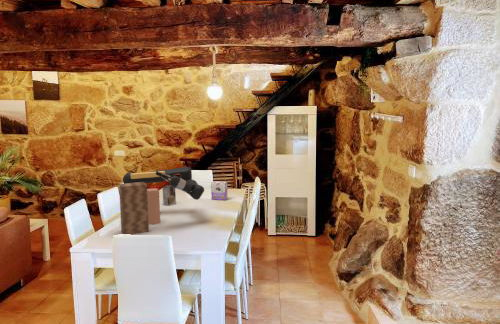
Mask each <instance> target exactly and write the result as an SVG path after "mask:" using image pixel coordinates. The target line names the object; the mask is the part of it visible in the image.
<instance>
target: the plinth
mask: <svg viewBox="0 0 500 324" xmlns="http://www.w3.org/2000/svg"><path fill="white" fill-rule="evenodd" d="M118 188H119V192H118V193H119V207H120V209H119V210H120V227H121V233H122V234H130V235H135V234H136V233H137V234H142V233H149V232H150V231H149V230H150V225H149V223H148V199H147V189H148V183H144V182H137V183H126V184H124V183H119V184H118Z"/></svg>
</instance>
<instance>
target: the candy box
mask: <svg viewBox="0 0 500 324" xmlns="http://www.w3.org/2000/svg"><path fill="white" fill-rule="evenodd" d="M210 184H211V186H210V187H211V188H210V189H211V190H210V191H211V192H210V193H211V200H212V201H227V200H228V197H229V196H228V193H229V192H228V181H223V180H222V181H220V180H218V181H217V180H215V181H214V180H212V181H211V182H210Z"/></svg>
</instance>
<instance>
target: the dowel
mask: <svg viewBox="0 0 500 324" xmlns="http://www.w3.org/2000/svg"><path fill="white" fill-rule="evenodd" d="M158 172H160V173H162V174H165V171H158ZM149 177H161V176H158V175H156V172H150V171H146V172H135V173H134V172H132V174H131V179H137V178H149Z"/></svg>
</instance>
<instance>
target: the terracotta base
mask: <svg viewBox="0 0 500 324" xmlns="http://www.w3.org/2000/svg"><path fill="white" fill-rule="evenodd" d="M147 199H148V223H149V226H150V225H157V224H161V208H160V207H161V206H160V205H161V204H160V202H161V201H160V190H159V189H158V188H157V187H153V188H147Z"/></svg>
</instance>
